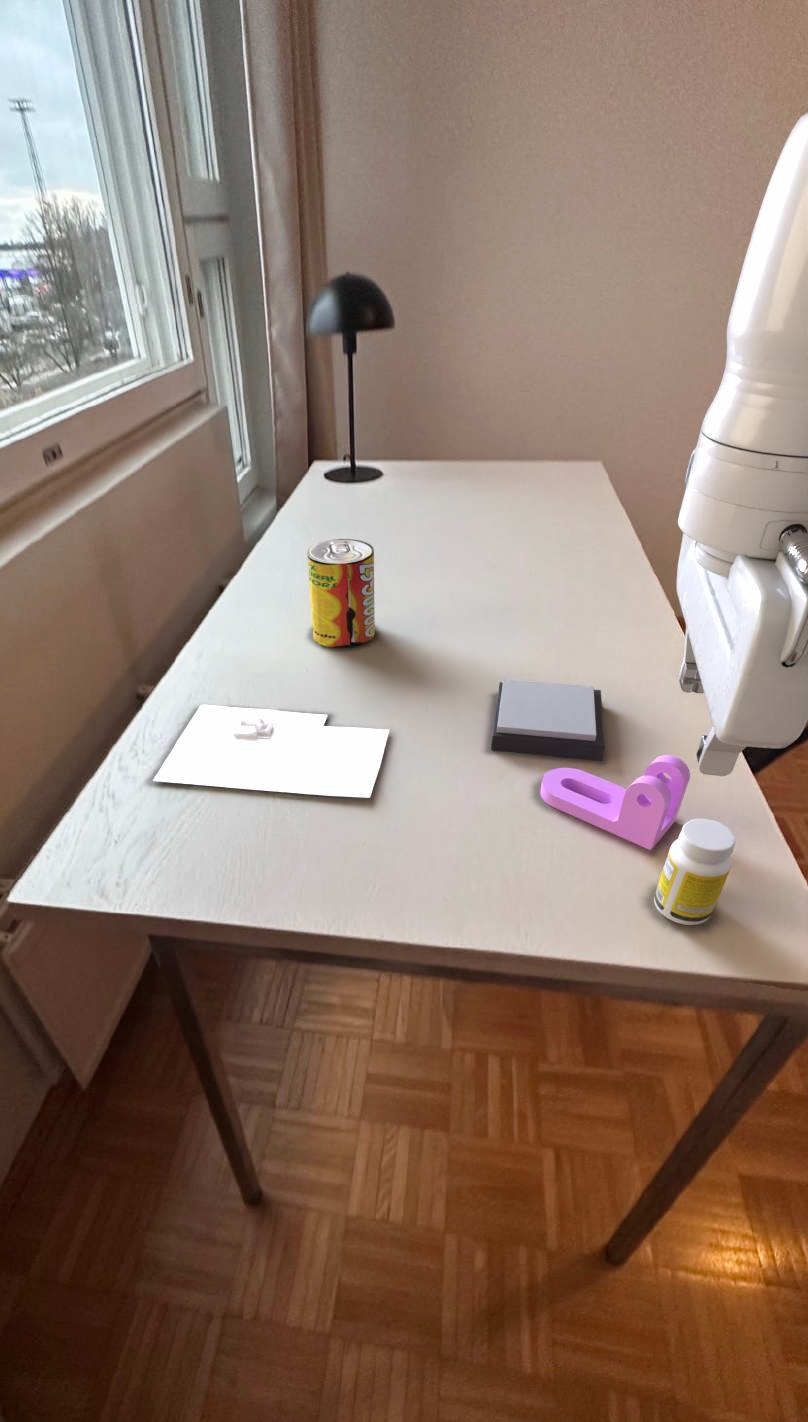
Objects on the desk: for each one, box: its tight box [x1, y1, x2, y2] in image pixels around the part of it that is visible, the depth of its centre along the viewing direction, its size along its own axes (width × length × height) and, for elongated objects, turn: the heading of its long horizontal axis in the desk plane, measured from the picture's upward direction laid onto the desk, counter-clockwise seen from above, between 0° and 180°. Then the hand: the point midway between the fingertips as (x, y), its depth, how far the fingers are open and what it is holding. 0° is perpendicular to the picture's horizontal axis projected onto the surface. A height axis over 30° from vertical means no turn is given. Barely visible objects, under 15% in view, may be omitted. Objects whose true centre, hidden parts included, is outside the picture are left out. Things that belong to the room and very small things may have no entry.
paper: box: [152, 704, 390, 799], centre depth 84 cm, size 25×17×1 cm
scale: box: [490, 679, 606, 761], centre depth 85 cm, size 12×12×3 cm
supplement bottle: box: [653, 818, 737, 926], centre depth 61 cm, size 5×5×8 cm
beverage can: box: [306, 538, 376, 649], centre depth 102 cm, size 9×9×12 cm
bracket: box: [539, 754, 691, 851], centre depth 72 cm, size 13×6×7 cm, turn 48°
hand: (701, 725), depth 47 cm, fingers open, 8 cm apart
